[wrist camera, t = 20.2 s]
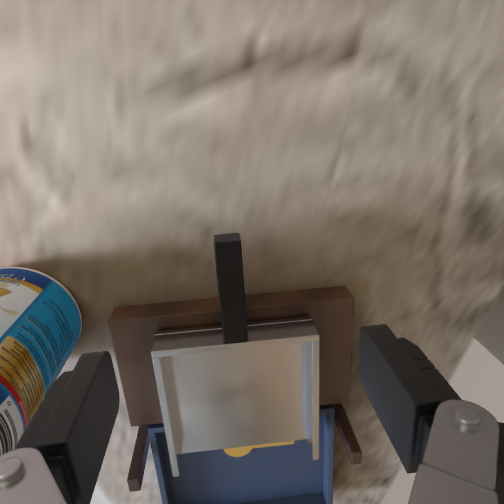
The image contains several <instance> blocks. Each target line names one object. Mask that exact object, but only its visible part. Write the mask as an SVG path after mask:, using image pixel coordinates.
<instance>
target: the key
mask: <svg viewBox="0 0 504 504" xmlns="http://www.w3.org/2000/svg"><path fill="white" fill-rule="evenodd" d="M289 444H294V441H287V442H278V443H270V444H261V445H253V446H244V447H235V448H227V449H224V451H225V453H226V454H228V455H230V456H233V457H241V456H244V455H246V454H248V453H249V452H250V451H251V450H252V448H261V447H270V446H280V445H289Z"/></svg>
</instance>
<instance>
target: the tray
mask: <svg viewBox="0 0 504 504" xmlns="http://www.w3.org/2000/svg"><path fill="white" fill-rule="evenodd" d="M334 415H335V408H334V405H333V404H329V405H320V406H319V459H318V460H313V459H312V455H311V452H310V448H309V444H308V441H307V439H304V440H296V441H294V444H289V445H280V446H270V447H261V448H252V450H251V451H250V452H249V453H248V454H246V455H244V456H241V457H233V456H230V455H228V454H226V453H225V451H224V449H218V450H210V451H201V452H192V453H184V454H182V455H181V466H180V475H179V476H175V477H173V474H172V468H171V463H170V457H169V451H168V446H167V440H166V434H165V429H164V423H158V424H149V426H148V433H149V438H150V443H151V448H152V453H153V458H154V463H155V468H156V473H157V478H158V483H159V488H160V493H161V498H162V503H163V504H333V460H334Z"/></svg>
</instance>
